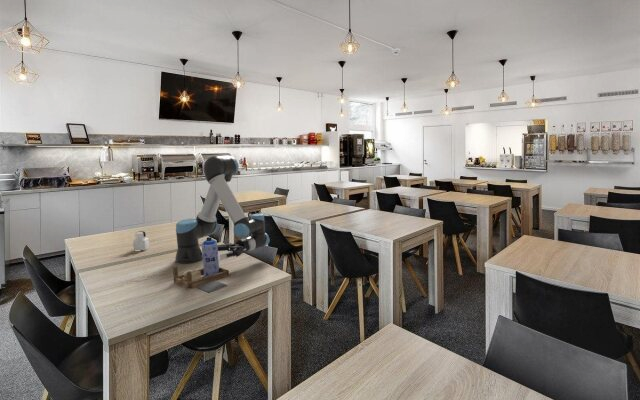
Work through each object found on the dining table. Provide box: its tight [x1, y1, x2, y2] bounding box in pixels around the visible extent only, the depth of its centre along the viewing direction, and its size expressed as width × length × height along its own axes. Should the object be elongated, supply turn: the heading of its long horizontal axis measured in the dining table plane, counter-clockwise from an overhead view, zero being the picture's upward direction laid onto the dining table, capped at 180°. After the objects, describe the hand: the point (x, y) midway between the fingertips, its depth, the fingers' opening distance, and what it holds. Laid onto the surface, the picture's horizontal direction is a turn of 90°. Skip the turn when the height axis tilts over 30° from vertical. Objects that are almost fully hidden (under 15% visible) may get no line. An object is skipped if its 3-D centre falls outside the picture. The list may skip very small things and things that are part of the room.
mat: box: [196, 280, 228, 294], centre depth 162 cm, size 10×10×1 cm
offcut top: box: [182, 269, 202, 280], centre depth 168 cm, size 6×5×2 cm
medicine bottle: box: [132, 230, 150, 252], centre depth 226 cm, size 7×7×12 cm
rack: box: [172, 265, 230, 290], centre depth 172 cm, size 14×22×8 cm, turn 141°
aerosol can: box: [201, 236, 220, 278], centre depth 175 cm, size 8×8×20 cm
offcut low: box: [183, 275, 203, 282], centre depth 168 cm, size 7×6×3 cm
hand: (212, 254), depth 175 cm, fingers open, 13 cm apart
